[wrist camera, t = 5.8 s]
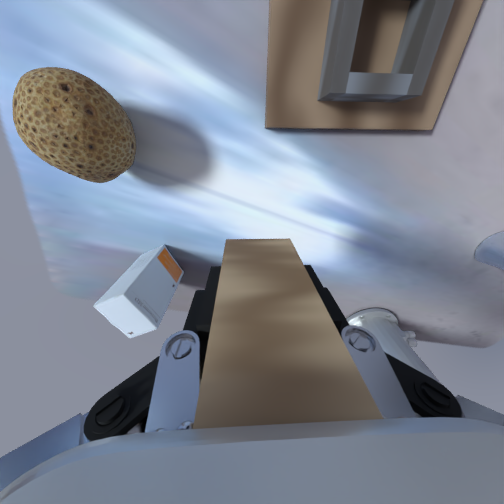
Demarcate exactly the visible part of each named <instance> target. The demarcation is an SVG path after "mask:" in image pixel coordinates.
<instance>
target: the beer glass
mask: <svg viewBox="0 0 504 504" xmlns="http://www.w3.org/2000/svg"><path fill="white" fill-rule="evenodd" d="M475 258H476V260H477V261H479V262H482V263H485V264H488V265H491V266H494V267H497V268H500V269H502V270H504V232H499V233H496V234H493V235H491V236H489V237H488V238H486V239H485V240H484V241H483V242H482V243H481V244H480V245H479V246H478V248H477V249H476V251H475Z"/></svg>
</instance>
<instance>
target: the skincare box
mask: <svg viewBox="0 0 504 504" xmlns="http://www.w3.org/2000/svg"><path fill="white" fill-rule="evenodd" d="M183 274H184V271H183V270H182V269H181V267H180V266H179V264H178V263H177V262H176V260H175V259H174V258H173V256H172V255H171V253H170V252H169V250H168V249H167V248H166V246H165V245H162V246H160V247H157V248H155V249H152V250H150V251H147V252H145V253H143V254H142V255H141V256H140V257H139V258H138V259H137V260H136V261H135V262H134V263H133V264H132V265H131V266H130V268H129V269H128V270H127V271H126V272H125V273H124V274H123V275H122V276H121V277H120V278H119V279H118V280H117V281H116V282H115V283H114V284H113V286H112V287H111V288H110V289H109V290H108V291H107V292H106V293H105V294H104V295H103V296H102V297H101V298H100V299H99V300H98V301H97V302H96V303H95V304H94V307H95V308H96V309H97V310H98V311H99V312H100V313H101V314H103V315H104V316H105V317H106V318H107V319H108V321H109V322H110V323H112V324H113V325H114V326H115V327H117V328H118V329H120V330H121V331H122V332H123V333H124V334H125V335H126V336H128V337H129V338H133V337H136V336H139V335H141V334H144V333H147V332H150V331H153V330H155V329H157V328H158V327H159V325H160V322H161V320H162V318H163V316H164V314H165V312H166V310H167V308H168V306H169V303H170V301H171V299H172V297H173V295H174V293H175V291H176V289H177V286H178V284H179V282H180V280H181V278H182V276H183Z"/></svg>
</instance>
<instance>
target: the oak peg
mask: <svg viewBox="0 0 504 504" xmlns="http://www.w3.org/2000/svg"><path fill="white" fill-rule="evenodd" d="M374 419H383V417H382V415H381V413H380V411H379V409H378V407H377V405H376V403H375V401H374V399H373V398H372V396H371V394H370V392H369V390H368V388H367V386H366V384H365V382H364V380H363V378H362V376H361V374H360V373H359V371H358V369H357V367H356V365H355V363H354V361H353V359H352V357H351V355H350V353H349V351H348V349H347V348H346V346H345V344H344V342H343V340H342V338H341V336H340V334H339V332H338V330H337V328H336V326H335V324H334V323H333V321H332V319H331V317H330V315H329V313H328V311H327V309H326V307H325V305H324V303H323V301H322V299H321V298H320V296H319V294H318V292H317V290H316V288H315V286H314V284H313V282H312V280H311V278H310V276H309V274H308V273H307V271H306V269H305V267H304V265H303V263H302V261H301V259H300V257H299V255H298V253H297V251H296V249H295V247H294V246H293V244H292V242H291V240H290V239H226V243H225V249H224V254H223V260H222V266H221V271H220V277H219V283H218V288H217V294H216V300H215V305H214V311H213V317H212V322H211V328H210V334H209V340H208V345H207V351H206V357H205V362H204V368H203V374H202V379H201V385H200V391H199V396H198V402H197V408H196V413H195V419H194V425H193V429H204V428H221V427H238V426H256V425H274V424H293V423H312V422H332V421H352V420H374Z"/></svg>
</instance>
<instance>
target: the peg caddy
mask: <svg viewBox="0 0 504 504" xmlns="http://www.w3.org/2000/svg"><path fill="white" fill-rule="evenodd" d="M482 2H483V0H270V2H269V30H268V57H267V85H266V113H265V128H288V129H351V130H414V131H423V130H432V129H433V126H434V124H435V121H436V119H437V116H438V114H439V111H440V109H441V106H442V103H443V101H444V98H445V96H446V93H447V91H448V88H449V86H450V83H451V81H452V78H453V76H454V73H455V71H456V68H457V66H458V63H459V61H460V58H461V55H462V53H463V50H464V48H465V45H466V43H467V40H468V38H469V35H470V33H471V30H472V28H473V25H474V23H475V20H476V18H477V15H478V13H479V10H480V7H481V5H482Z"/></svg>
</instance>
